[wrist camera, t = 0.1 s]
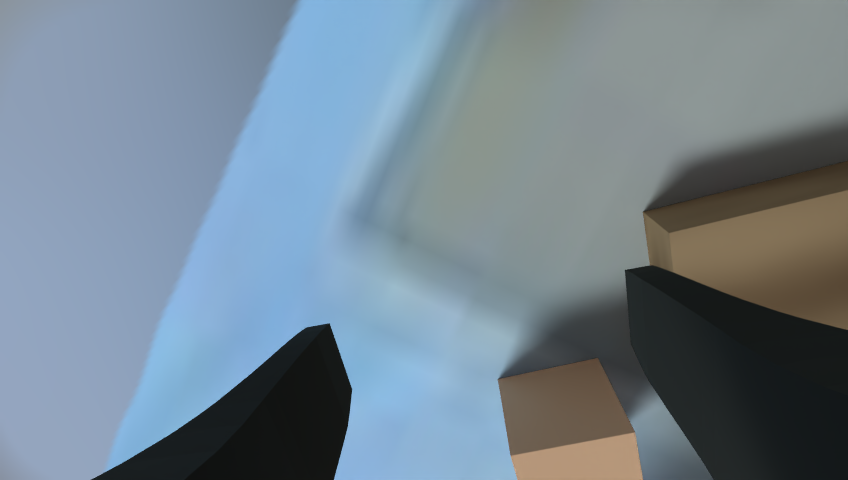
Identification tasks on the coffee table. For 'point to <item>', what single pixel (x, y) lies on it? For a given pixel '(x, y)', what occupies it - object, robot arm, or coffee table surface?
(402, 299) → the coffee table surface
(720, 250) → the tan flat block
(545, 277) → the coffee table surface
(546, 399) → the cube
